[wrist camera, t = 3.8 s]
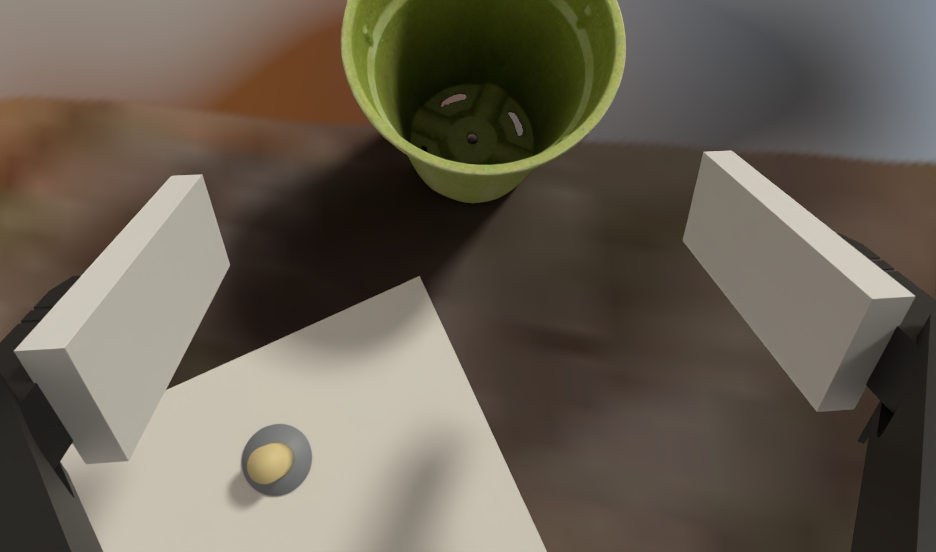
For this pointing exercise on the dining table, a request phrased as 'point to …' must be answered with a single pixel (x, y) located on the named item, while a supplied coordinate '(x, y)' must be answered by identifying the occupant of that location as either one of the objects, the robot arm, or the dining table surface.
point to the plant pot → (483, 82)
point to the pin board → (318, 450)
